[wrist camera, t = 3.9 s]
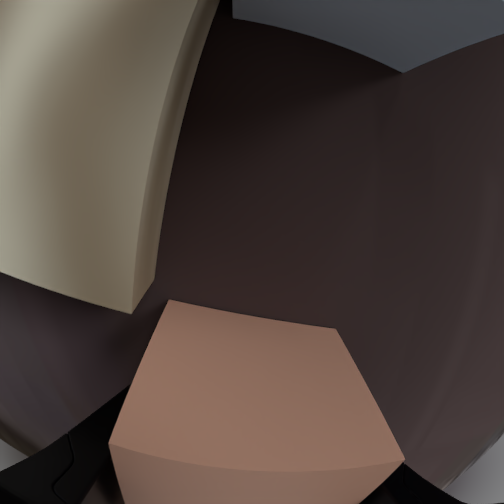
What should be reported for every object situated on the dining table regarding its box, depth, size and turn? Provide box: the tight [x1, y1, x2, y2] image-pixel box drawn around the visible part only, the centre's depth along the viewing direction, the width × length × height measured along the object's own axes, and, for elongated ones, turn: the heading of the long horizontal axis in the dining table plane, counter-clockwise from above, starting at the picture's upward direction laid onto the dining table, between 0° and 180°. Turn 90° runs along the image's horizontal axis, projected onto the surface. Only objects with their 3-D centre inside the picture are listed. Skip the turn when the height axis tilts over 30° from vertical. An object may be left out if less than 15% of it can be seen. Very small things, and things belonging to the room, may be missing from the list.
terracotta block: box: [109, 300, 405, 504], centre depth 6 cm, size 5×5×5 cm
